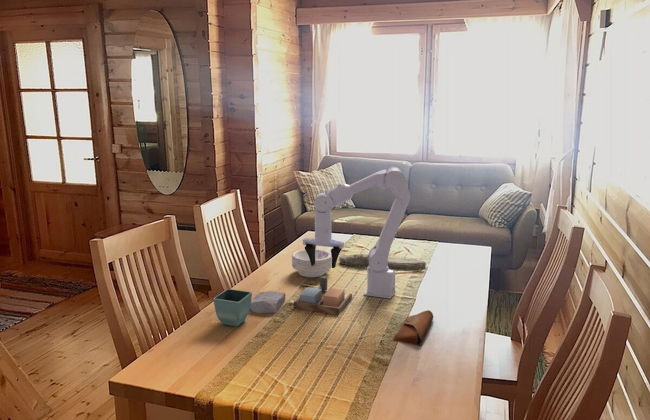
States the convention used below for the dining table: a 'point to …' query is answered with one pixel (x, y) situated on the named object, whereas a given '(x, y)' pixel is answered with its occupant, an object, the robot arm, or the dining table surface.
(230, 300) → the flower pot
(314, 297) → the grey mallet
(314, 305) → the lane rack
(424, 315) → the sunglasses case
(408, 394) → the dining table surface
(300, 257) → the paper bowls
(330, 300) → the terracotta block
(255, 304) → the stone block
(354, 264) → the long grey stone
